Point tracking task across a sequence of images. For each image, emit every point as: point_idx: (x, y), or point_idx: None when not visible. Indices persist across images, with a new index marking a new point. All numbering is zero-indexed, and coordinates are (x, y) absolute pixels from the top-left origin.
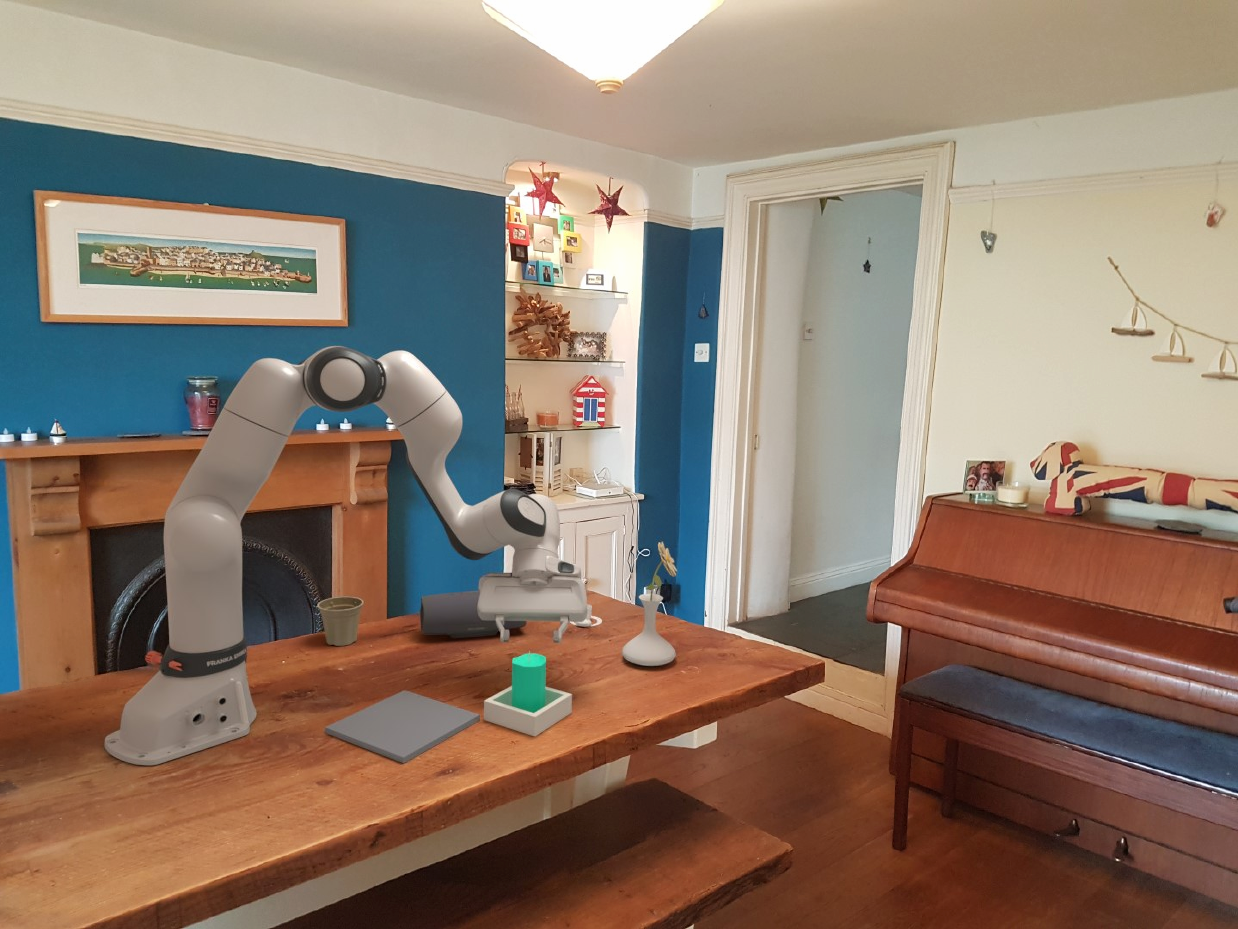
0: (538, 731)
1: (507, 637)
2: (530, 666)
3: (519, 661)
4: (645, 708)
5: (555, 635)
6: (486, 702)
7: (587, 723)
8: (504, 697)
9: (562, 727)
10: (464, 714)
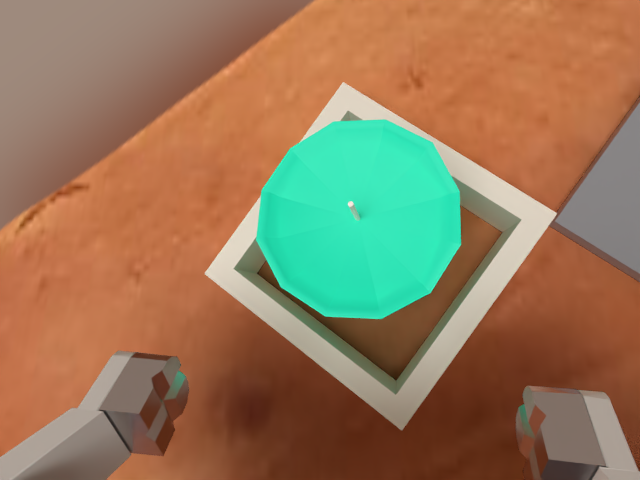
0: None
1: (540, 389)
2: (347, 124)
3: (416, 230)
4: (11, 304)
5: (144, 374)
6: (544, 206)
7: (190, 204)
8: (471, 285)
9: (265, 177)
10: (617, 224)
